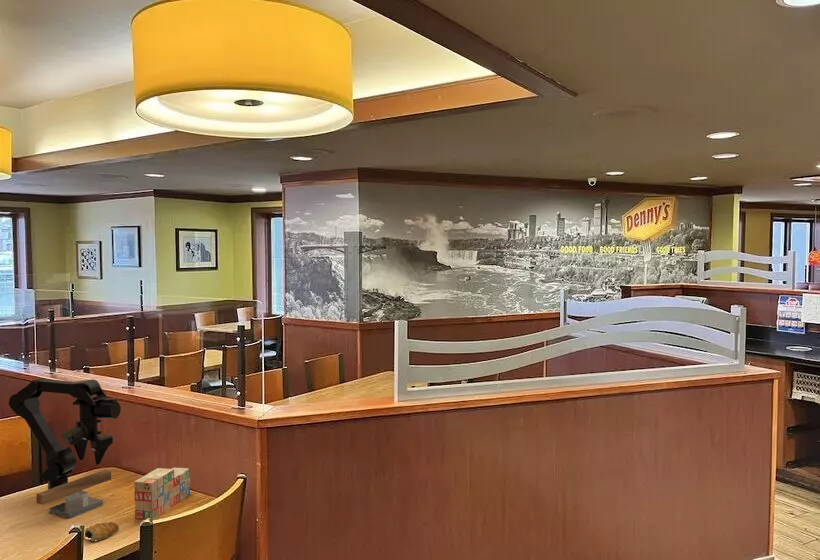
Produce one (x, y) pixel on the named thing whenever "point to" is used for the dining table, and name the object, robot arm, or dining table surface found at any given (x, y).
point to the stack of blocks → (160, 491)
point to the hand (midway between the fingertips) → (89, 462)
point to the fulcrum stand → (75, 505)
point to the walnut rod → (73, 487)
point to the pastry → (101, 530)
